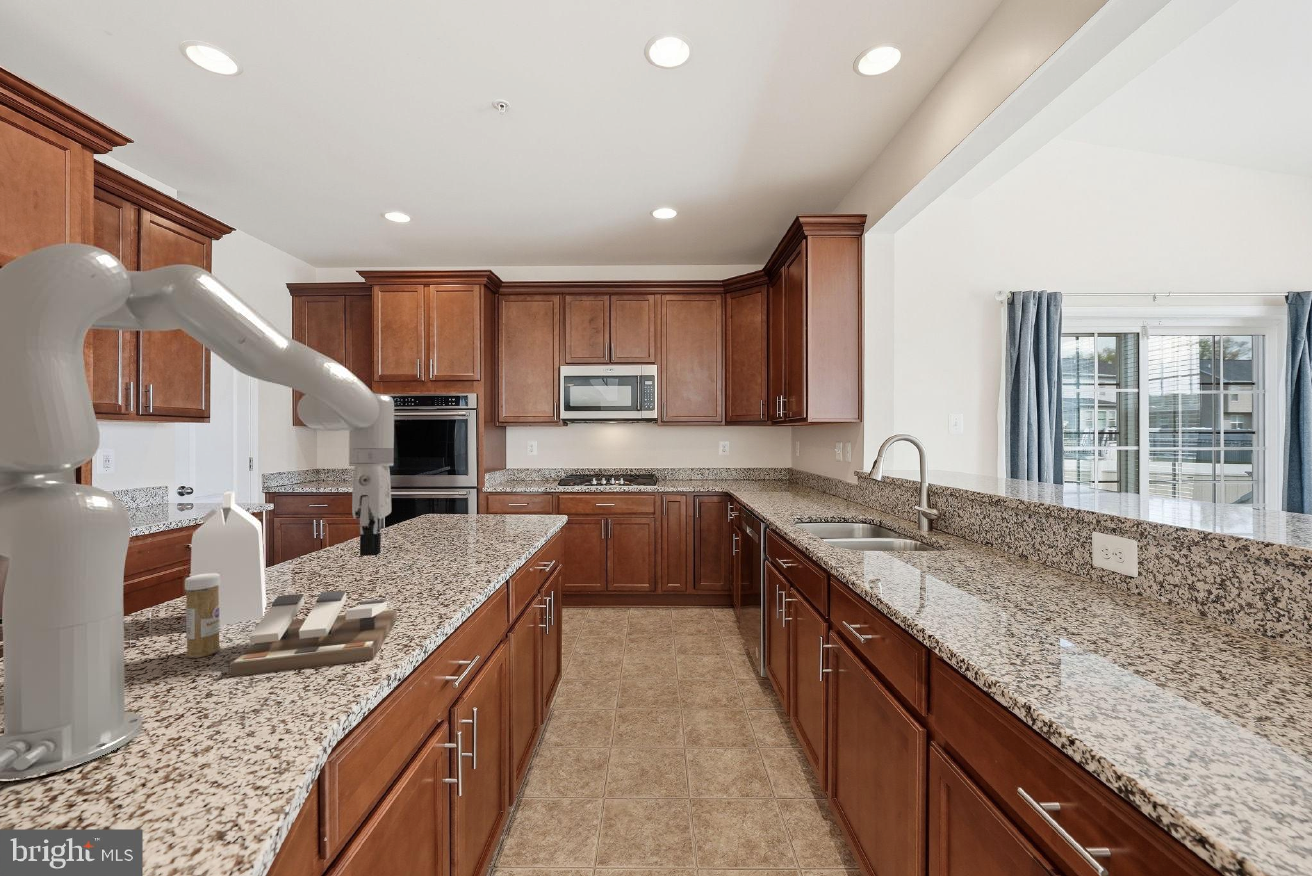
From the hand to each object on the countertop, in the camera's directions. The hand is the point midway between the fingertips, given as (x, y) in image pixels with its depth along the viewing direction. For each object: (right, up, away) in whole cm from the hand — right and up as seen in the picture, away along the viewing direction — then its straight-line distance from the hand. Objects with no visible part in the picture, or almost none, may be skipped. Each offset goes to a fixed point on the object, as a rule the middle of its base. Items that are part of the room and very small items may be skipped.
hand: (370, 554), depth 99 cm
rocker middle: (-5, -9, -6) cm, 12 cm away
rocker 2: (+2, -9, -4) cm, 10 cm away
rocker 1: (-12, -9, -8) cm, 17 cm away
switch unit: (-5, -15, -6) cm, 17 cm away
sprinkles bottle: (-24, -15, -9) cm, 30 cm away
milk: (-35, -15, +10) cm, 39 cm away
